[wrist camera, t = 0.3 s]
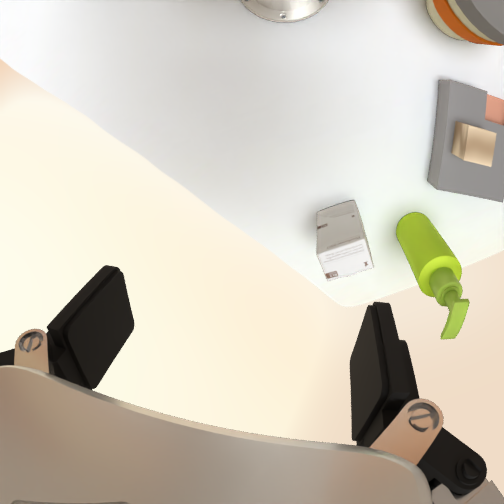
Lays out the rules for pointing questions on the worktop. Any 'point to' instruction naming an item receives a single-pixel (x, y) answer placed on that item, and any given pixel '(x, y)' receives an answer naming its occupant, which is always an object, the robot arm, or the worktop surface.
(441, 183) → the board
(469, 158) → the maple block
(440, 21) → the reusable coffee cup
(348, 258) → the skincare box
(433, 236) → the soap dispenser
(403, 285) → the worktop surface
